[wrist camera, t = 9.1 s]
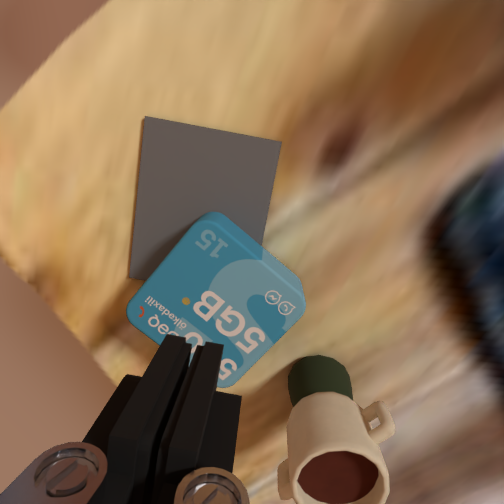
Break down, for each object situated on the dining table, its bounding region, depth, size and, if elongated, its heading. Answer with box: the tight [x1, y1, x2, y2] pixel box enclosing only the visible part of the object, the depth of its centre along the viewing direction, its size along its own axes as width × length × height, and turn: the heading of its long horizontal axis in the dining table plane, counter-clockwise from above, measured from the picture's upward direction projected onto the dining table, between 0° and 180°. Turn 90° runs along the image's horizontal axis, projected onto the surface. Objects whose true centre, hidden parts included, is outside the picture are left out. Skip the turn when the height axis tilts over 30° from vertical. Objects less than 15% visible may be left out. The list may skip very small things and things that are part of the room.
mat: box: [129, 116, 282, 280], centre depth 35 cm, size 12×15×1 cm
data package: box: [126, 212, 306, 388], centre depth 34 cm, size 12×4×12 cm
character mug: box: [278, 355, 395, 504], centre depth 33 cm, size 11×7×13 cm, turn 131°
